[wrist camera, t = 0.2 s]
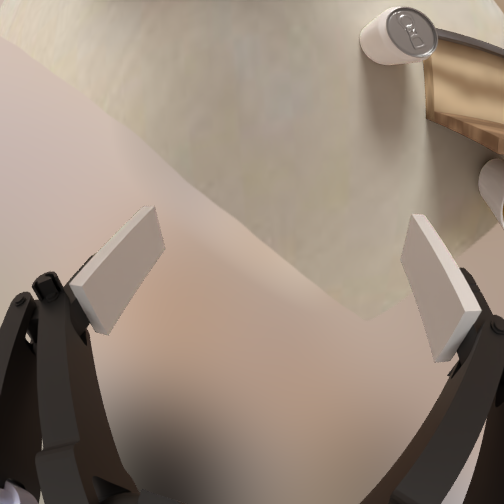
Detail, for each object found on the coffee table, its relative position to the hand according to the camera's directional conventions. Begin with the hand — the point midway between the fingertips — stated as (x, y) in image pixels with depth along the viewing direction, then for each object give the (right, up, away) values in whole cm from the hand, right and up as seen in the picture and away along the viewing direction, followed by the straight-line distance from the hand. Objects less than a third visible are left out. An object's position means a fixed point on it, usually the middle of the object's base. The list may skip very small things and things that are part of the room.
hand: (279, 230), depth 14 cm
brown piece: (+33, +23, +11) cm, 42 cm away
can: (+16, +26, +13) cm, 33 cm away
